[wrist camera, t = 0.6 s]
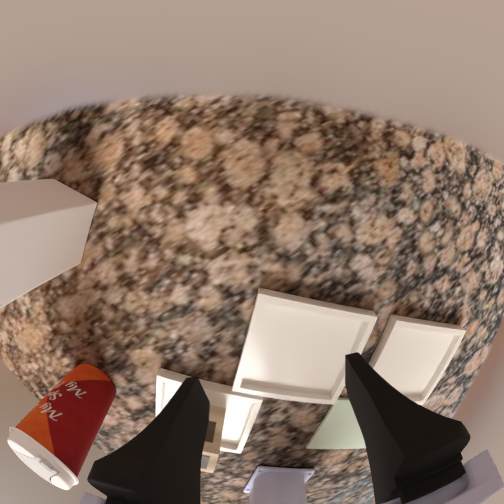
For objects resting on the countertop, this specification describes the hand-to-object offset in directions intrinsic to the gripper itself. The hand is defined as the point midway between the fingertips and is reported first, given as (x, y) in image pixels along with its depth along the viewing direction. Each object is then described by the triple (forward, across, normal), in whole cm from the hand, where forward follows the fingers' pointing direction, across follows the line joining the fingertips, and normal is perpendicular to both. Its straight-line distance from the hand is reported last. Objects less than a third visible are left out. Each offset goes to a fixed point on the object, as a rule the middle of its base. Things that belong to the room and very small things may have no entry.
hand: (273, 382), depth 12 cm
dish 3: (+9, -13, +11) cm, 19 cm away
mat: (+8, -7, +19) cm, 22 cm away
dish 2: (+9, -2, +6) cm, 11 cm away
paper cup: (+9, +21, +8) cm, 24 cm away
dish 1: (+8, +9, +13) cm, 18 cm away
